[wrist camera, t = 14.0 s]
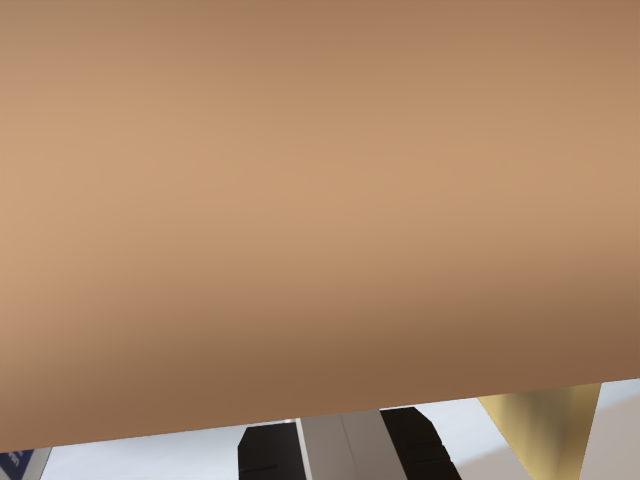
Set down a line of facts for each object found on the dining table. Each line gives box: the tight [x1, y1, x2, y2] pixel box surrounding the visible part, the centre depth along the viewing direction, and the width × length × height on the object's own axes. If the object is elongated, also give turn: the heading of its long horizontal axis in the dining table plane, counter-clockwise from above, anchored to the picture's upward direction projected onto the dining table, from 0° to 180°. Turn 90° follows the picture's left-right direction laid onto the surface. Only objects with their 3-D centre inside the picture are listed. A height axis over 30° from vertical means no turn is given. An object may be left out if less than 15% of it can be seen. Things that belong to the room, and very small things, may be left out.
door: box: [477, 383, 602, 480], centre depth 11 cm, size 21×1×8 cm, turn 0°
